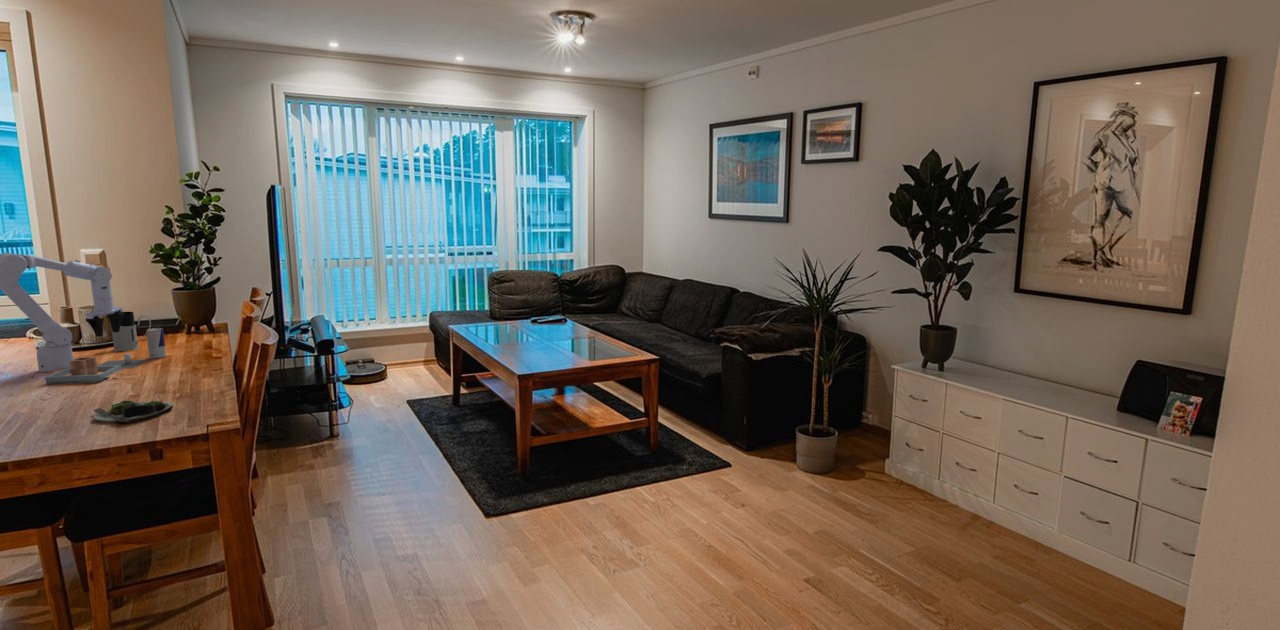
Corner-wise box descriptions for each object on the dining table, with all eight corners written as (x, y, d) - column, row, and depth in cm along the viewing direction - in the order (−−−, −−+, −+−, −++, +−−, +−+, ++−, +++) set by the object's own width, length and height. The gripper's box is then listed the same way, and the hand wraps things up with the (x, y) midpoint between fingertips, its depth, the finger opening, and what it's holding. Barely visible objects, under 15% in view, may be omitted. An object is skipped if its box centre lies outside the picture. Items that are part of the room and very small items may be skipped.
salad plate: (70, 424, 193) (67, 408, 192) (124, 405, 210) (122, 390, 209) (133, 427, 190) (131, 411, 190) (182, 408, 208) (180, 393, 207)
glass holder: (119, 347, 285) (114, 311, 282) (158, 345, 288) (154, 310, 285) (108, 352, 276) (104, 315, 274) (149, 350, 280) (144, 314, 277)
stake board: (88, 372, 245) (86, 360, 244) (109, 363, 259) (108, 351, 258) (132, 370, 248) (131, 358, 247) (151, 361, 261) (150, 350, 261)
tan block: (71, 377, 236) (69, 360, 234) (88, 372, 242) (85, 356, 241) (86, 377, 235) (83, 360, 234) (101, 372, 242) (99, 356, 241)
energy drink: (169, 358, 267) (166, 328, 265) (159, 361, 262) (155, 330, 260) (157, 357, 267) (153, 327, 265) (146, 361, 262) (142, 330, 260)
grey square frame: (46, 384, 230) (45, 377, 229) (70, 373, 243) (69, 367, 243) (100, 382, 233) (99, 375, 233) (122, 371, 246) (121, 365, 246)
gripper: (108, 295, 265) (113, 329, 267) (75, 301, 251) (81, 338, 253) (126, 295, 264) (130, 330, 267) (94, 301, 250) (99, 338, 253)
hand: (107, 334), depth 260 cm, fingers open, 7 cm apart
